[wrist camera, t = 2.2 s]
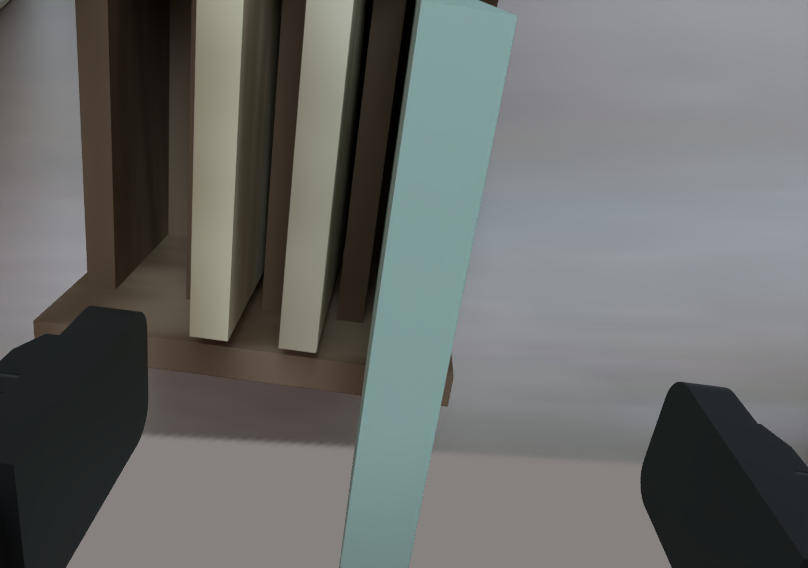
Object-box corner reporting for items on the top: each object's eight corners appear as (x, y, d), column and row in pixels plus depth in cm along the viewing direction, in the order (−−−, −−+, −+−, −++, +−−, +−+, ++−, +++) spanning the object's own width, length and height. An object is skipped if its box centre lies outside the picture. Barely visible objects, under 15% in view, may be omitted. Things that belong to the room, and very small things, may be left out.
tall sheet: (448, -12, 27) (517, 15, 9) (407, 251, 31) (394, 638, 13) (417, -17, 27) (421, 0, 9) (381, 247, 31) (331, 630, 13)
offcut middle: (376, -23, 27) (356, -23, 18) (345, 242, 31) (316, 353, 22) (345, -29, 27) (308, -30, 18) (318, 238, 31) (278, 348, 22)
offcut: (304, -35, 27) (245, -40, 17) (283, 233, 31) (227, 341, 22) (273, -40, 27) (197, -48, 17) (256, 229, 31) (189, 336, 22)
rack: (501, -61, 27) (545, -79, 18) (438, 287, 33) (447, 406, 24) (139, -119, 26) (-7, -169, 17) (142, 246, 32) (36, 352, 23)
